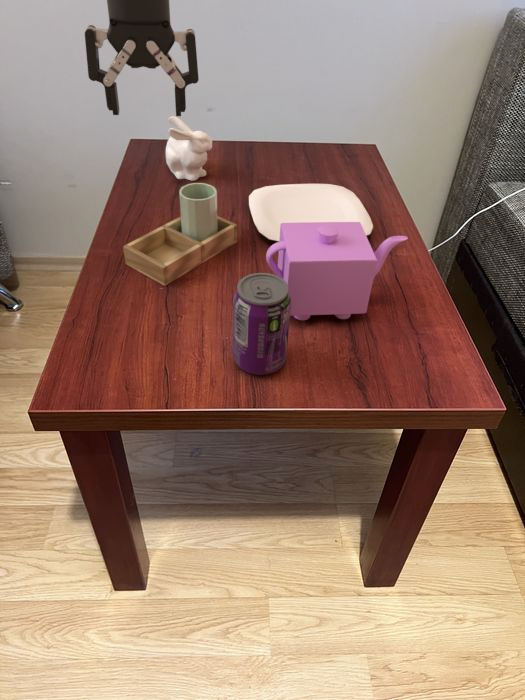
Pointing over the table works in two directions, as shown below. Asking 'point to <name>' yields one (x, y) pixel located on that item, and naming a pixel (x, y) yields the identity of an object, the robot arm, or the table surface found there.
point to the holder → (176, 250)
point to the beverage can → (261, 323)
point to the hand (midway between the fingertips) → (147, 114)
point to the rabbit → (186, 151)
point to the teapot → (328, 267)
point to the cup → (198, 211)
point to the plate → (304, 207)
